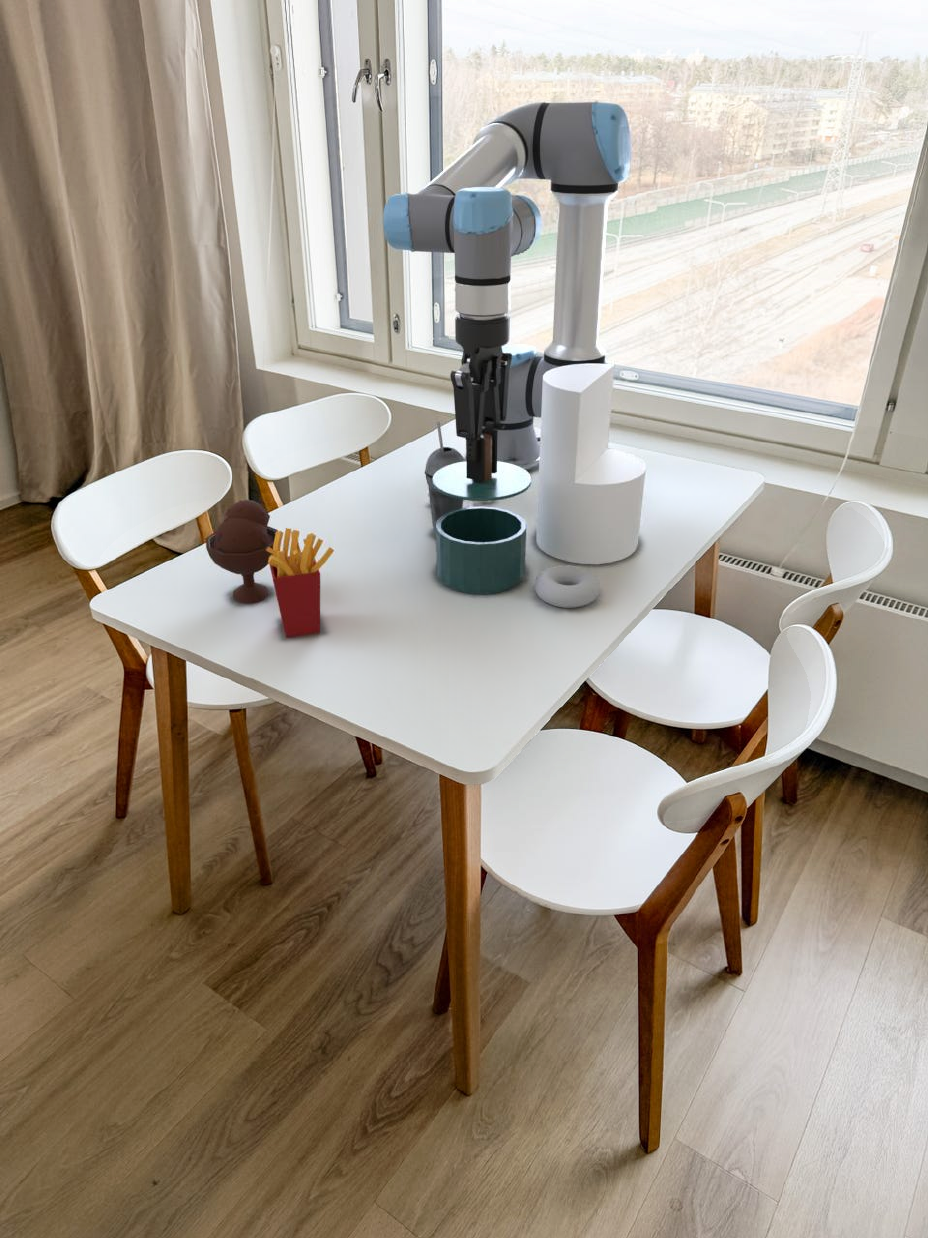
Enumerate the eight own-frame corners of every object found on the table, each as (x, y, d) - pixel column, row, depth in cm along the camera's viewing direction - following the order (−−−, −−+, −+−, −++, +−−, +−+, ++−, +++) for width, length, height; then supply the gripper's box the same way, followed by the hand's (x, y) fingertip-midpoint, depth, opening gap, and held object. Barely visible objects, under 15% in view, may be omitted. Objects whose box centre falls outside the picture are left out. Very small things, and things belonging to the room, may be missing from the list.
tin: (465, 546, 149) (465, 499, 144) (540, 566, 142) (542, 518, 138) (419, 579, 138) (417, 530, 134) (497, 603, 132) (498, 552, 128)
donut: (543, 576, 139) (525, 605, 131) (544, 557, 138) (526, 584, 130) (605, 587, 136) (591, 616, 128) (607, 567, 135) (593, 595, 127)
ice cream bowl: (224, 577, 139) (209, 489, 132) (293, 578, 139) (283, 490, 131) (204, 611, 130) (188, 518, 122) (279, 612, 130) (267, 519, 122)
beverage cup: (463, 544, 149) (462, 430, 139) (421, 541, 150) (418, 428, 140) (471, 526, 155) (471, 416, 145) (431, 523, 157) (428, 414, 146)
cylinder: (520, 552, 147) (526, 385, 132) (556, 513, 160) (564, 358, 146) (620, 572, 140) (637, 399, 126) (649, 530, 154) (667, 370, 139)
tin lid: (465, 460, 142) (465, 414, 138) (548, 478, 135) (550, 430, 131) (413, 491, 131) (411, 442, 127) (500, 513, 124) (501, 462, 120)
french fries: (279, 642, 123) (267, 545, 115) (273, 613, 129) (261, 520, 122) (342, 632, 125) (333, 537, 117) (332, 605, 132) (324, 513, 124)
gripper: (488, 300, 127) (487, 453, 139) (427, 322, 116) (431, 487, 128) (534, 305, 124) (529, 462, 136) (475, 328, 112) (475, 498, 124)
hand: (481, 474), depth 132 cm, fingers closed on tin lid, 3 cm apart
